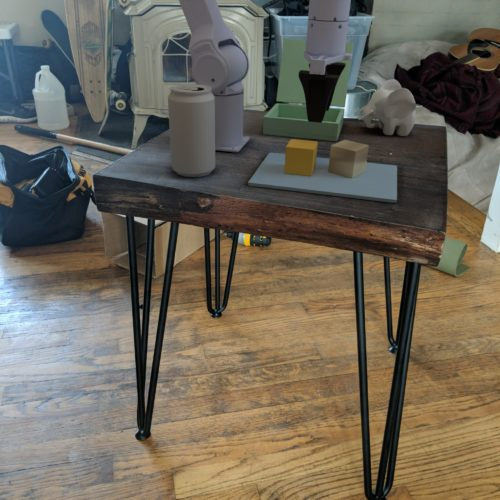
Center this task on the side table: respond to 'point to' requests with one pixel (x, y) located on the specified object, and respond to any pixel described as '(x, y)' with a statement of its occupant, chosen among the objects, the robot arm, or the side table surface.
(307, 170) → the mustard block
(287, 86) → the lunchbox lid
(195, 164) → the beverage can
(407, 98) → the elephant figurine
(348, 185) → the placemat
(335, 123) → the box
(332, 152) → the birch block
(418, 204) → the side table surface
